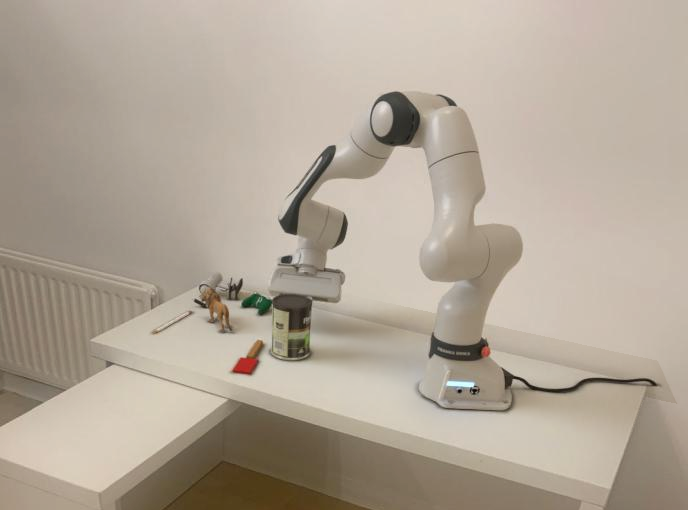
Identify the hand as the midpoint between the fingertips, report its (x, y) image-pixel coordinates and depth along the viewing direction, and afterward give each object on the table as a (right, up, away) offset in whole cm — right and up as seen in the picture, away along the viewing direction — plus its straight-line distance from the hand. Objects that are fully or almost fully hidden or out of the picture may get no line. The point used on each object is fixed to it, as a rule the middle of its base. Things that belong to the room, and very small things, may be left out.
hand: (300, 313), depth 204 cm
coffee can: (-3, -12, -6) cm, 14 cm away
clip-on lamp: (-26, +10, +24) cm, 37 cm away
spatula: (-13, -14, -10) cm, 22 cm away
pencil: (-36, -1, +8) cm, 37 cm away
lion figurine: (-24, -1, +8) cm, 25 cm away
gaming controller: (-13, +6, +19) cm, 24 cm away
